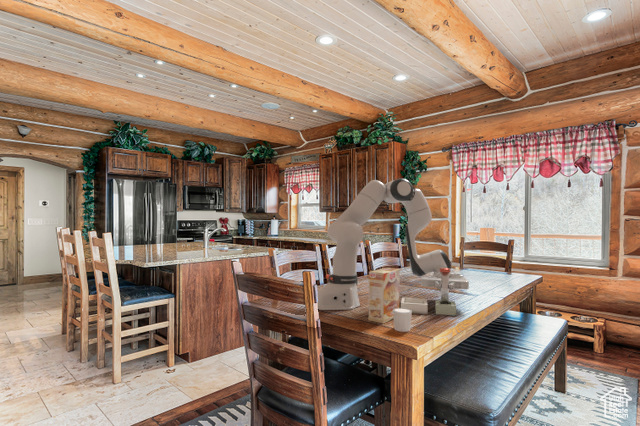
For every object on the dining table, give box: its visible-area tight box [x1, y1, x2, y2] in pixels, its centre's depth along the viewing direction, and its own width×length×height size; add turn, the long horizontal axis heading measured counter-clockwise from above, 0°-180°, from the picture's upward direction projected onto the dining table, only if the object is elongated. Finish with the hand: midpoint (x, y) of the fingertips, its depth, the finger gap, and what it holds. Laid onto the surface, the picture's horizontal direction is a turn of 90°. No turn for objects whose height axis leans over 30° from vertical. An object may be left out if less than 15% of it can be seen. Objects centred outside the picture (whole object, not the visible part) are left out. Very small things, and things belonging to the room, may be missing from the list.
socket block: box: [434, 299, 457, 316], centre depth 153 cm, size 8×8×4 cm
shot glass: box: [393, 307, 413, 333], centre depth 130 cm, size 7×7×7 cm
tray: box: [400, 296, 428, 315], centre depth 156 cm, size 11×11×4 cm
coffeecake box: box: [368, 267, 401, 324], centre depth 144 cm, size 15×7×20 cm, turn 143°
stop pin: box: [440, 268, 452, 304], centre depth 153 cm, size 4×4×16 cm
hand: (445, 286), depth 152 cm, fingers closed on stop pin, 3 cm apart
